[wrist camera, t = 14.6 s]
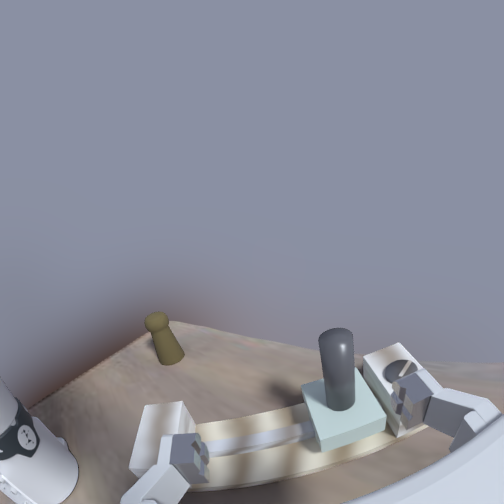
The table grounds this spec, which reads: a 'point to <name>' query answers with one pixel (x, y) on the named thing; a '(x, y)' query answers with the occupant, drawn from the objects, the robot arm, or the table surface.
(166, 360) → the olive brown pepper mill
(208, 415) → the table surface
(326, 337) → the carriage
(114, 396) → the table surface
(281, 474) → the rail track
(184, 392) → the table surface
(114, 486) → the table surface
